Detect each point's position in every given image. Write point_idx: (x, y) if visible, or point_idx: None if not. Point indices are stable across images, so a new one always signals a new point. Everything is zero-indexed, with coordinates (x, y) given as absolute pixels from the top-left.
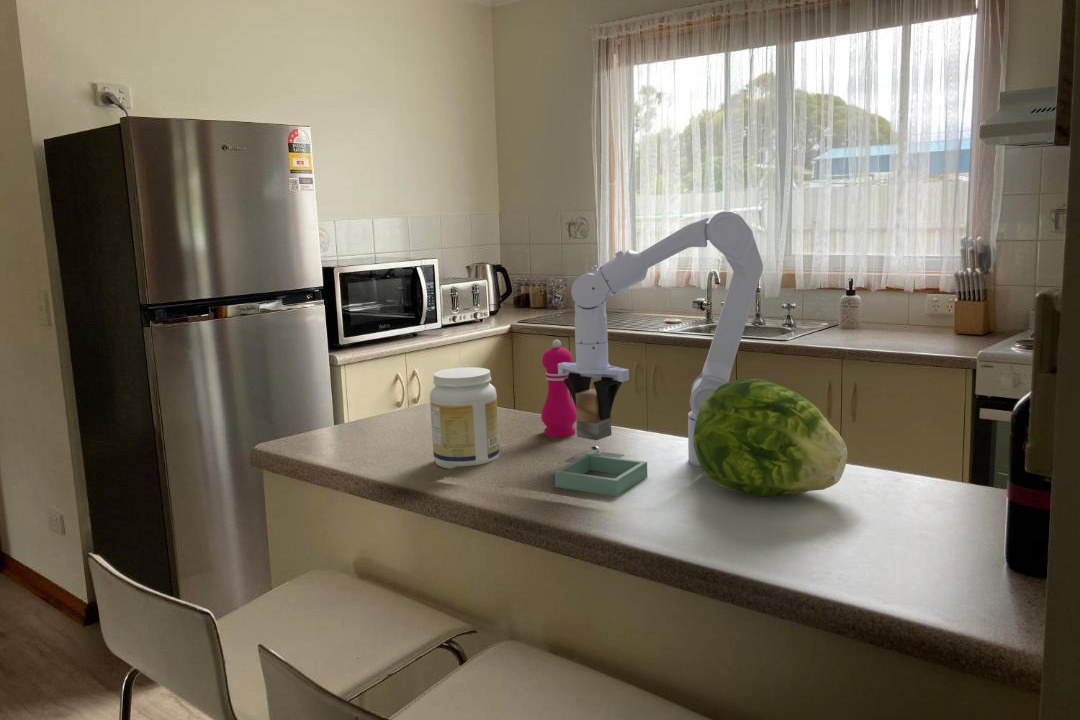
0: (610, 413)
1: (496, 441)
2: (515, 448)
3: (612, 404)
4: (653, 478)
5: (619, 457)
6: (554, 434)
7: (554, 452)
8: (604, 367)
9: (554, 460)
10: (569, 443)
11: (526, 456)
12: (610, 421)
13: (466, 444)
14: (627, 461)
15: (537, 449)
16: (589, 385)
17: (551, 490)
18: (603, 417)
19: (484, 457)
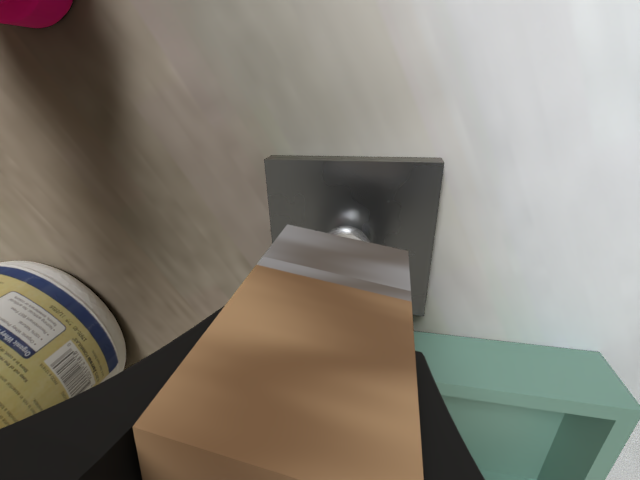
0: (432, 376)
1: (74, 361)
2: (40, 178)
3: (459, 436)
4: (615, 314)
5: (436, 205)
6: (24, 21)
7: (160, 169)
8: None
9: (220, 247)
10: (115, 23)
11: (128, 240)
12: (408, 296)
13: None
14: (554, 409)
15: (94, 159)
16: (88, 472)
17: None
18: None
19: (113, 375)
